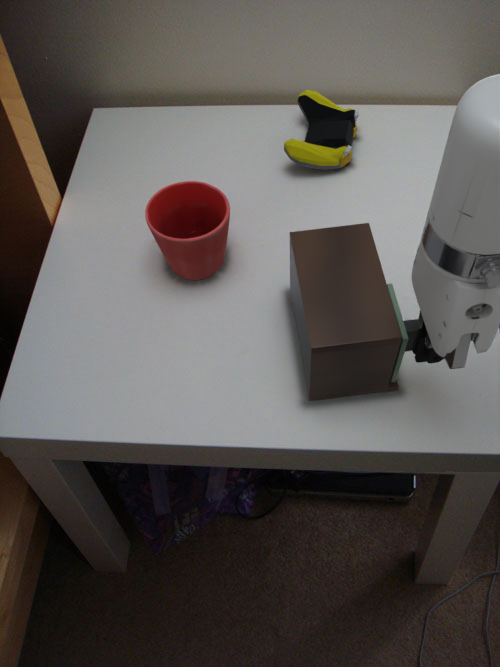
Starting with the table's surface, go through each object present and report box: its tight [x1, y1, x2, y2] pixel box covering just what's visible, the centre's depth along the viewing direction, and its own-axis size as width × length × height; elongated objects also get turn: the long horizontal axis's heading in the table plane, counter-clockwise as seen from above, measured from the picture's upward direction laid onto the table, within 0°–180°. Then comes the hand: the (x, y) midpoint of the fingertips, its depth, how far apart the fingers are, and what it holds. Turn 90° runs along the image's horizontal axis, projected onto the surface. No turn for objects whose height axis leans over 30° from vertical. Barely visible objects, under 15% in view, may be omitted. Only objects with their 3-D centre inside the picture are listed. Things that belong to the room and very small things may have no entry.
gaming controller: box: [283, 89, 360, 171], centre depth 93 cm, size 15×6×10 cm
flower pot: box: [144, 180, 231, 281], centre depth 80 cm, size 11×11×10 cm
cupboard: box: [289, 222, 402, 402], centre depth 70 cm, size 11×16×12 cm, turn 6°
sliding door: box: [386, 282, 422, 382], centre depth 68 cm, size 5×7×9 cm, turn 6°
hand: (428, 354), depth 62 cm, fingers closed
